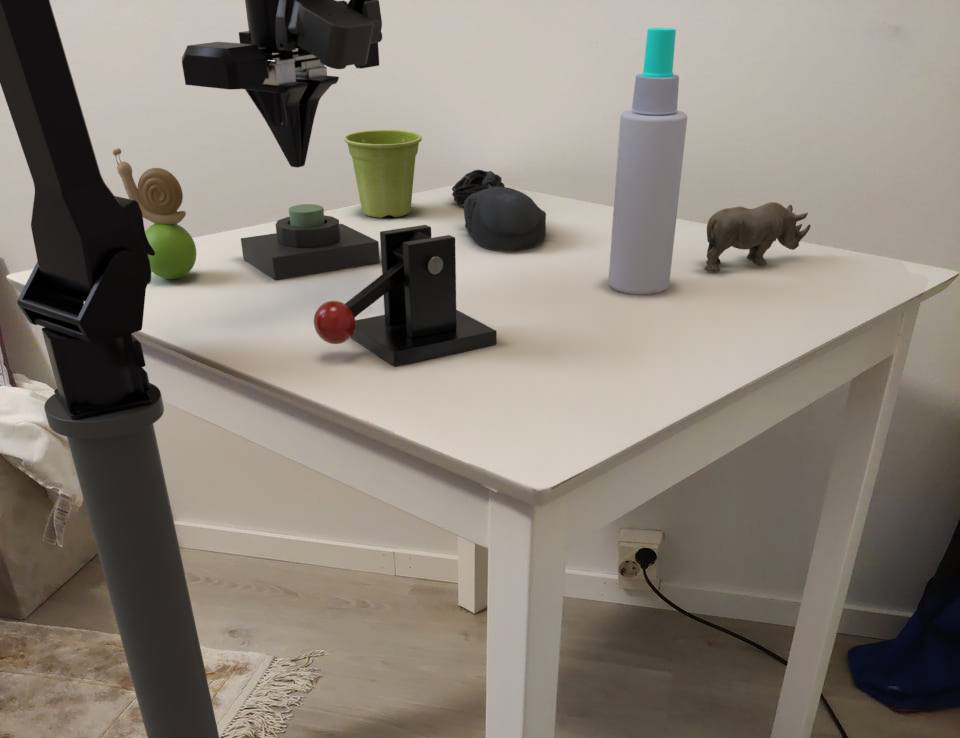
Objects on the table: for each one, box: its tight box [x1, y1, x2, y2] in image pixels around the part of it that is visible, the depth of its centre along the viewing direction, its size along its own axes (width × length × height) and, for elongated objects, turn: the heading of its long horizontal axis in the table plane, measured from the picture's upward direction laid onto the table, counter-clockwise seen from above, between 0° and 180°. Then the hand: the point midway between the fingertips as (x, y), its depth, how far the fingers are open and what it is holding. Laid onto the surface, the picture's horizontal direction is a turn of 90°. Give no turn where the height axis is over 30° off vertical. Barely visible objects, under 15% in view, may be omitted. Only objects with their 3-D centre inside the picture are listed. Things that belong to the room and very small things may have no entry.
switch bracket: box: [350, 224, 498, 367], centre depth 84 cm, size 10×9×9 cm
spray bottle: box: [608, 27, 688, 295], centre depth 92 cm, size 6×6×22 cm
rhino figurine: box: [703, 201, 811, 273], centre depth 104 cm, size 4×14×6 cm, turn 114°
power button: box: [288, 203, 325, 227], centre depth 104 cm, size 4×4×2 cm
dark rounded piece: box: [451, 169, 547, 252], centre depth 120 cm, size 10×32×6 cm, turn 8°
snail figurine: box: [112, 147, 197, 280], centre depth 98 cm, size 5×6×12 cm
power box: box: [240, 214, 381, 281], centre depth 105 cm, size 12×9×4 cm
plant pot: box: [343, 129, 423, 219], centre depth 121 cm, size 9×9×9 cm
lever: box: [313, 232, 432, 345], centre depth 82 cm, size 12×3×3 cm, turn 122°
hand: (297, 166), depth 90 cm, fingers closed
